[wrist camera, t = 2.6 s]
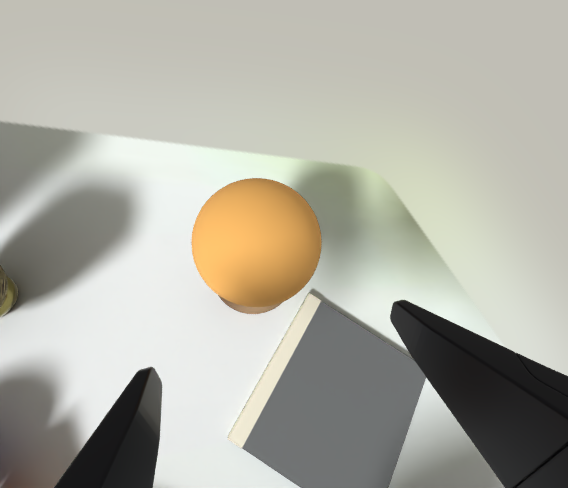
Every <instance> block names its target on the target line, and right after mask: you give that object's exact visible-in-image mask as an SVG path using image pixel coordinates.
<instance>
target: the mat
mask: <svg viewBox="0 0 568 488" xmlns="http://www.w3.org/2000/svg"><path fill="white" fill-rule="evenodd" d="M425 379H426V376H425V375H424V373H423V372H422V370H421V369H420V368H419V366H418V365H417V363H416V362H415V360H413V359H411V358H410V357H408V356H407V355H405V354H404V353H402V352H401V351H399V350H397V349H396V348H394V347H393V346H391V345H390V344H388V343H386V342H385V341H383V340H382V339H380V338H379V337H377V336H376V335H374V334H372V333H371V332H369V331H368V330H366V329H365V328H363V327H361V326H360V325H358V324H357V323H355V322H354V321H352V320H351V319H349V318H347V317H346V316H344V315H343V314H341V313H340V312H338V311H336V310H335V309H333V308H332V307H330V306H329V305H327V304H325V303H324V302H322V301H321V300H320V299H318V298H317V297H315V296H313V295H312V294H310V293H308V295H307V297H306V298H305V300H304V302H303V304H302V305H301V307H300V309H299V311H298V313H297V314H296V316H295V318H294V320H293V321H292V323H291V325H290V327H289V329H288V330H287V332H286V334H285V336H284V337H283V339H282V341H281V343H280V344H279V346H278V348H277V350H276V352H275V353H274V355H273V357H272V359H271V360H270V362H269V364H268V366H267V368H266V369H265V371H264V373H263V375H262V376H261V378H260V380H259V382H258V383H257V385H256V387H255V389H254V391H253V392H252V394H251V396H250V398H249V399H248V401H247V403H246V405H245V407H244V408H243V410H242V412H241V414H240V415H239V417H238V419H237V421H236V422H235V424H234V426H233V428H232V430H231V431H230V433H229V435H228V440H230V441H231V442H233V443H234V444H236V445H237V446H239V447H240V448H243V449H244V450H246V451H247V452H249V453H250V454H252V455H253V456H255V457H256V458H258V459H259V460H261V461H262V462H264V463H265V464H267V465H268V466H269V467H271V468H272V469H274V470H275V471H277V472H278V473H280V474H281V475H283V476H284V477H286V478H287V479H289V480H290V481H292V482H293V483H295V484H296V485H298V486H299V487H301V488H388V487H389V484H390V481H391V478H392V475H393V472H394V470H395V467H396V464H397V461H398V458H399V455H400V452H401V449H402V446H403V443H404V440H405V437H406V434H407V431H408V429H409V426H410V423H411V420H412V417H413V414H414V411H415V408H416V405H417V402H418V399H419V396H420V393H421V391H422V388H423V385H424V382H425Z"/></svg>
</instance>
